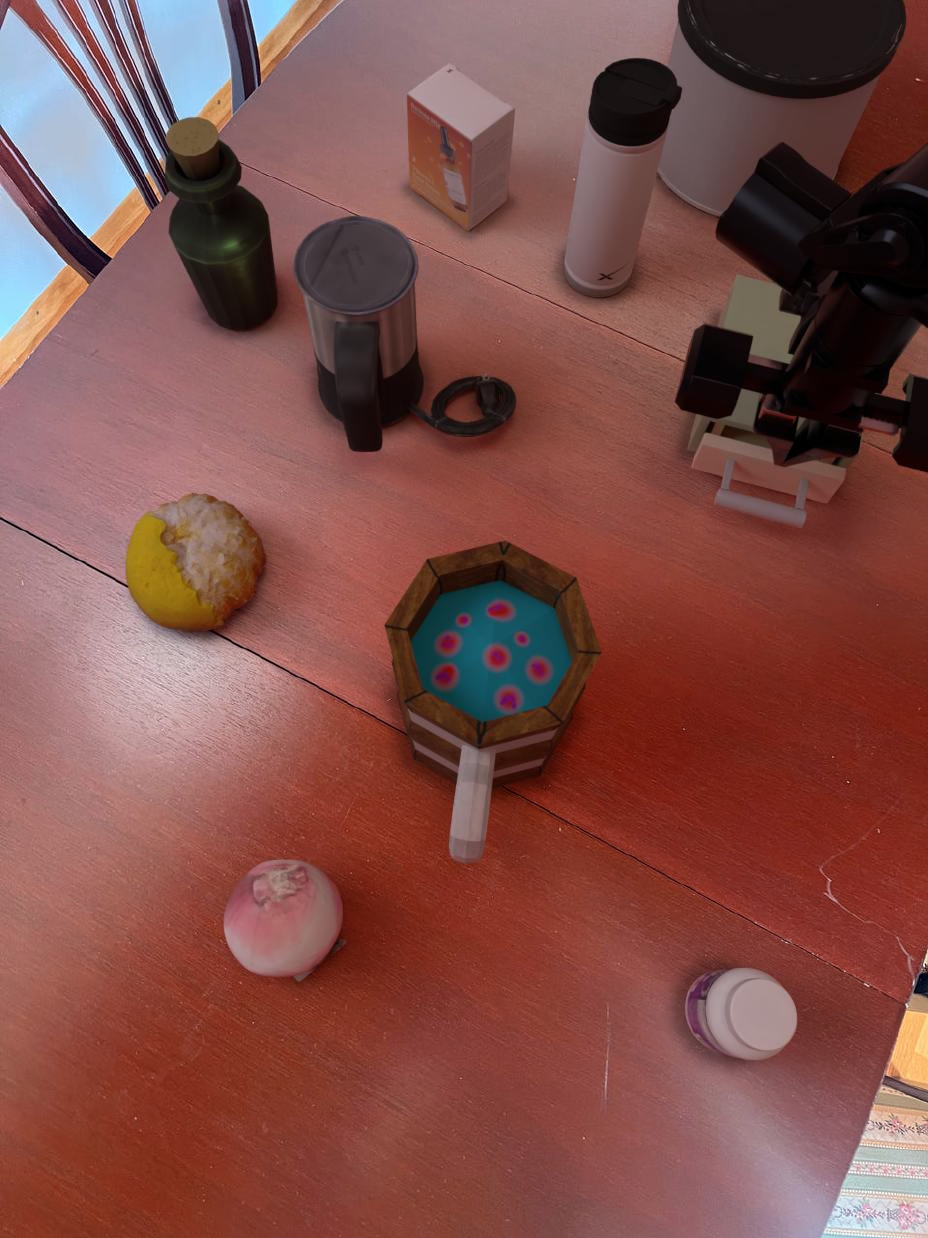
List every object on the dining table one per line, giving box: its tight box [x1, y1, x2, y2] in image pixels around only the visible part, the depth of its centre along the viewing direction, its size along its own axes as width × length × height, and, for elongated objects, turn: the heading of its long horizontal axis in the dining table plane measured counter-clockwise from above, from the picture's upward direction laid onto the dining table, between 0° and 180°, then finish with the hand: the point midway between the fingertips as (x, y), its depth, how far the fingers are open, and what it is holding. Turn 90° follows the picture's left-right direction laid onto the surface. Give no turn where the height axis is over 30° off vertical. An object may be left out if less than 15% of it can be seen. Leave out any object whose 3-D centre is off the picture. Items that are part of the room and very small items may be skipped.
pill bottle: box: [684, 967, 798, 1062], centre depth 61 cm, size 5×5×10 cm
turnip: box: [223, 859, 347, 983], centre depth 63 cm, size 8×8×7 cm
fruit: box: [125, 492, 268, 633], centre depth 74 cm, size 11×10×8 cm
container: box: [657, 0, 907, 218], centre depth 87 cm, size 19×19×15 cm
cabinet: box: [686, 274, 865, 473], centre depth 81 cm, size 15×13×6 cm
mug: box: [383, 540, 603, 865], centre depth 65 cm, size 20×14×15 cm
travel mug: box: [563, 57, 682, 298], centre depth 79 cm, size 6×7×20 cm
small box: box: [406, 62, 516, 232], centre depth 86 cm, size 8×6×10 cm
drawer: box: [691, 421, 847, 529], centre depth 79 cm, size 18×11×4 cm, turn 163°
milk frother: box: [292, 215, 517, 453], centre depth 76 cm, size 14×16×15 cm
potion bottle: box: [164, 116, 279, 331], centre depth 78 cm, size 8×8×18 cm
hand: (779, 460), depth 73 cm, fingers closed
